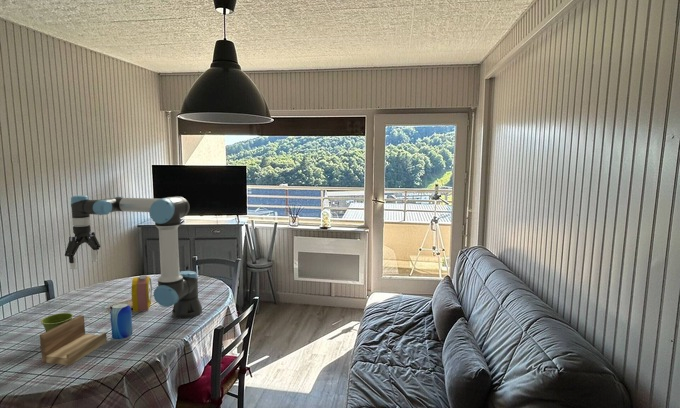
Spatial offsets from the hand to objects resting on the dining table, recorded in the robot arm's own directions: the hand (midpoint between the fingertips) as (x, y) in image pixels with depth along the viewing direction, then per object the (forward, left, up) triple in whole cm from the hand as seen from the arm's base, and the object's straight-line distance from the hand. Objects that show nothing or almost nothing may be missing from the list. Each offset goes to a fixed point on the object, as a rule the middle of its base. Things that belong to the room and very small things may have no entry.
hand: (84, 265), depth 199 cm
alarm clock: (-20, -16, -28) cm, 38 cm away
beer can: (-35, +19, -28) cm, 49 cm away
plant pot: (-9, +27, -28) cm, 40 cm away
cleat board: (-25, +34, -28) cm, 50 cm away
